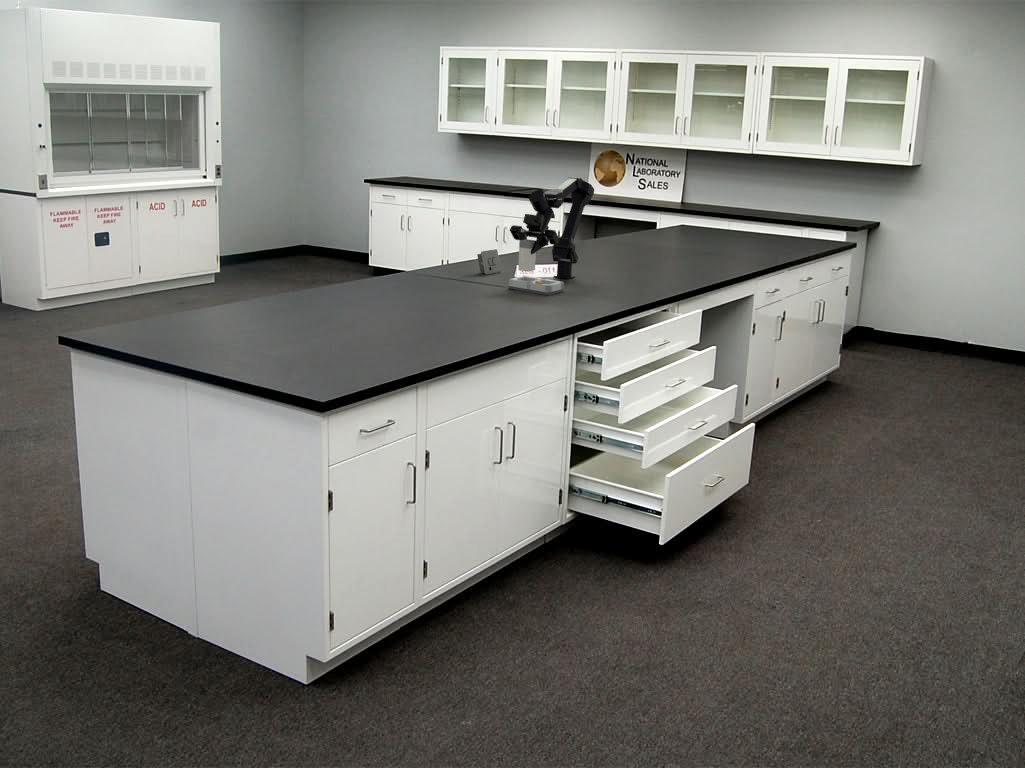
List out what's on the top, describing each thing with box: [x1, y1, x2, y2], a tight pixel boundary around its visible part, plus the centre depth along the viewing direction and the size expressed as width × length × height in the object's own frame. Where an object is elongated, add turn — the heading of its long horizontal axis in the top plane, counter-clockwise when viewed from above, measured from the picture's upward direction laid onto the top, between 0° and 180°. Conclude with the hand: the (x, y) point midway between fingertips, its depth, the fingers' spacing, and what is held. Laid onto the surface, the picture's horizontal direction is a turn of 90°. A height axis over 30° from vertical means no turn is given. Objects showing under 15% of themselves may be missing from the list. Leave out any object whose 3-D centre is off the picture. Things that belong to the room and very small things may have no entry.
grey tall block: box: [517, 238, 537, 273], centre depth 373 cm, size 4×4×11 cm
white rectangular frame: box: [508, 275, 565, 296], centre depth 374 cm, size 10×18×4 cm, turn 56°
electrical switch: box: [477, 248, 502, 275], centre depth 404 cm, size 9×5×9 cm, turn 141°
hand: (525, 252), depth 372 cm, fingers closed on grey tall block, 4 cm apart
